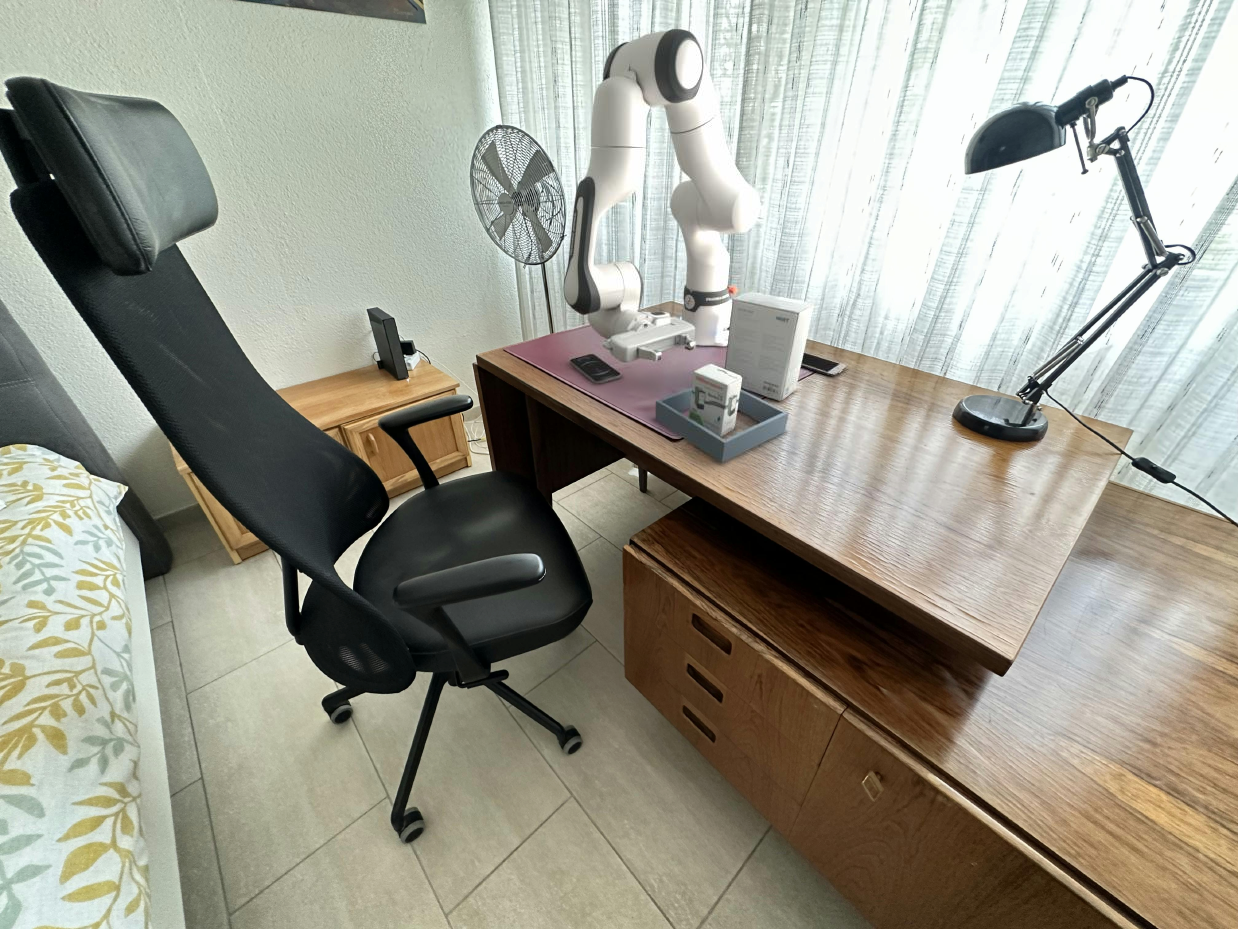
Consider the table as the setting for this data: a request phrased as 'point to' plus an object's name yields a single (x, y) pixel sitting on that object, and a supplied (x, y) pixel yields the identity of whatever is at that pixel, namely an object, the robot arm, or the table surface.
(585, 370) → the smartphone
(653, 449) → the table surface
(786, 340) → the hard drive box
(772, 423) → the tub
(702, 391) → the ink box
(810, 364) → the smartphone
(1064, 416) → the table surface
